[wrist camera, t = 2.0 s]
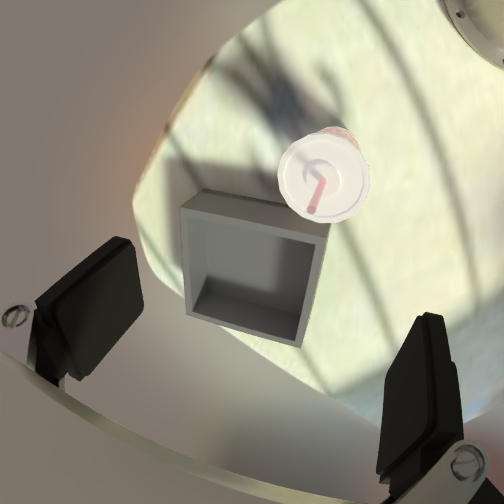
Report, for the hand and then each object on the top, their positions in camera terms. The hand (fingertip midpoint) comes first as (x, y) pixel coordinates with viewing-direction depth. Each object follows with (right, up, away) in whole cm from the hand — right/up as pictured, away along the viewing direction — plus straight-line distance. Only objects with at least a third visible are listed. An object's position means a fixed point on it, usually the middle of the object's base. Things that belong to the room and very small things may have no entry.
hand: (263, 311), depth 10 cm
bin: (+1, +1, +26) cm, 26 cm away
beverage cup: (+7, +11, +18) cm, 22 cm away
